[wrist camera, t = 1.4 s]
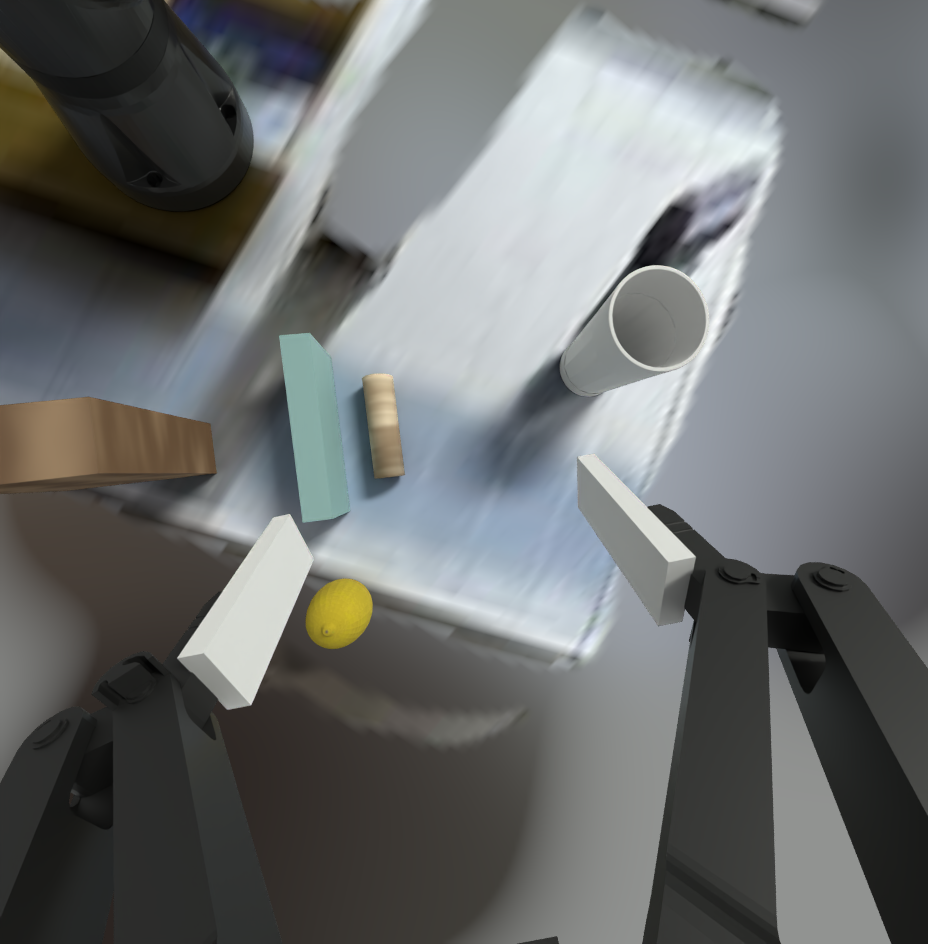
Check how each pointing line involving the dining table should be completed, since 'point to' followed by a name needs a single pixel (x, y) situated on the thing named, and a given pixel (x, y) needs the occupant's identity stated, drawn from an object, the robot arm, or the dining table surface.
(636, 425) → the dining table surface
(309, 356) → the rail
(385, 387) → the roller
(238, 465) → the dining table surface
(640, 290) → the cup
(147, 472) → the slab
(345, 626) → the lemon
